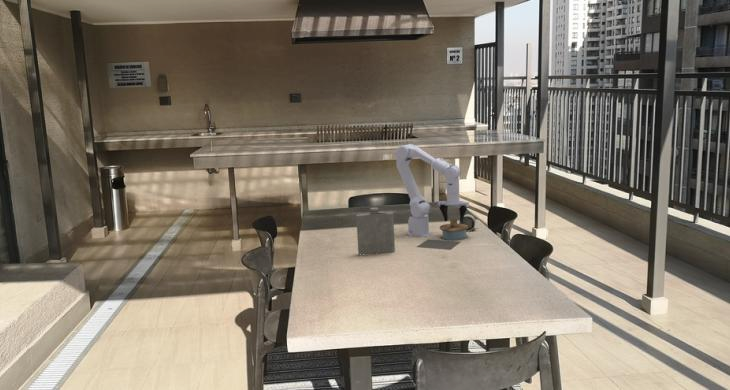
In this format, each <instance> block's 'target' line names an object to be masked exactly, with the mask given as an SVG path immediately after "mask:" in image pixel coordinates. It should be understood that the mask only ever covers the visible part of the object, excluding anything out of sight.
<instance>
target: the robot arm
mask: <svg viewBox="0 0 730 390" xmlns="http://www.w3.org/2000/svg"><path fill="white" fill-rule="evenodd" d="M394 154H395V157H396V162H395V163H396V169H397V171H398V172H399V175H400V177H401V181H402V182H403V185H404V187H405V190H406V192H407V195H408V197H409V199H410V201H409V204H408V205H409V207H410V208H409V209H410V214H411V216H409V218H408V221H407V227H408V230H407V231H408V232H407V233H408V234H407V236H411V237H428V236H430V235H431V234H432V233H433V232H432V231H430V225H429V213H430V211H431V205H430V203H429V202H428V201H427V200H426V198H425V197H424V196H423V195H422V194H421V192H420V190H419V187H418V185H417V182H416V181H415V178H414V175H413V173H412V169H410V166H409V165H410V162H411V161H412V159H413V158H418V159H420V160H422V161H423V162H425V163H427V164H430V165H431V168H432V169H433V170H434V171H436V172H437V173H440V174H441V175H442V176H444V178H445V180H446V200H439V201H437V206H438V207H439V210H440V212H441V214H442V216H443V219H444V222H447V221H448V219H449V218H448V208H449V207H458V210H459V222H463V219H464V215H466V211H467V209H468V207H470V202H469V201H460V175H461V172H462V171H461V168H460V167H459V166H458V165H453V163H448V162H447V161H445V159H444V158H443V157H436V158H435V157H433V156H432V155H431V154H429V153H428V152H426V151H424V150H423V149H421V148H420V147H419V146H417V145H415V144H414V143H408V144H405V145H404V144H403V145H399V146H398V147H397V148H396V151H395V153H394Z"/></svg>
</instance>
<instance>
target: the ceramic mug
mask: <svg viewBox="0 0 730 390" xmlns="http://www.w3.org/2000/svg"><path fill="white" fill-rule="evenodd" d="M475 218H476V217H475V216H473V215H472V214H466V213H465V215H464V219H463V222H460V221H458V224H465V225H467V226H468V229H467V230H466V232H471V231H472V230H474V229H475V227H476V219H475Z"/></svg>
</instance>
